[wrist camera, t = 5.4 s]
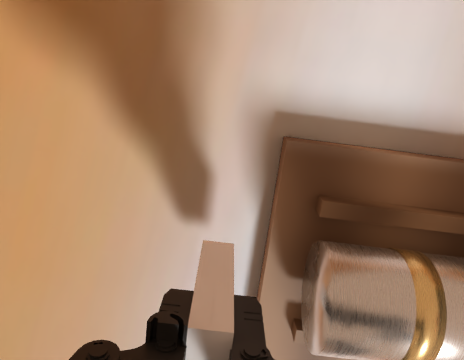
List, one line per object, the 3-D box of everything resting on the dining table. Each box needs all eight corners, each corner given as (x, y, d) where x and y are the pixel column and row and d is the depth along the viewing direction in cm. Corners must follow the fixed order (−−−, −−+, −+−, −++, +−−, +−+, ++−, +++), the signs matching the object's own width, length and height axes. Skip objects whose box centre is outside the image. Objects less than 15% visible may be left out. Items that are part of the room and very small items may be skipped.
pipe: (296, 309, 20) (316, 384, 15) (313, 222, 19) (341, 274, 14) (475, 329, 21) (551, 409, 16) (504, 245, 19) (598, 304, 14)
